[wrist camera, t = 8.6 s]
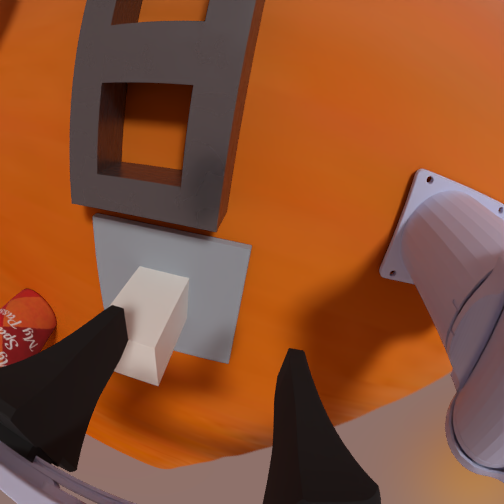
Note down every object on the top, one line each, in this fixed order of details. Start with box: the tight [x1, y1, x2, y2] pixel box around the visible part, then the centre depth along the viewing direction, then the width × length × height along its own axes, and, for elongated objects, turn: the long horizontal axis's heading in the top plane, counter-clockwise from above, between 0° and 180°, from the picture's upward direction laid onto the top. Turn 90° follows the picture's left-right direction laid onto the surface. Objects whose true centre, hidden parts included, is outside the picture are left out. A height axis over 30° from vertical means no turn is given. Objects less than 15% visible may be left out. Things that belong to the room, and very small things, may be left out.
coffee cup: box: [0, 289, 56, 367], centre depth 21 cm, size 8×8×15 cm
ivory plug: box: [109, 266, 189, 386], centre depth 20 cm, size 4×4×7 cm
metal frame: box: [70, 0, 265, 232], centre depth 13 cm, size 10×20×3 cm, turn 170°
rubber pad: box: [93, 213, 252, 364], centre depth 23 cm, size 12×12×1 cm
